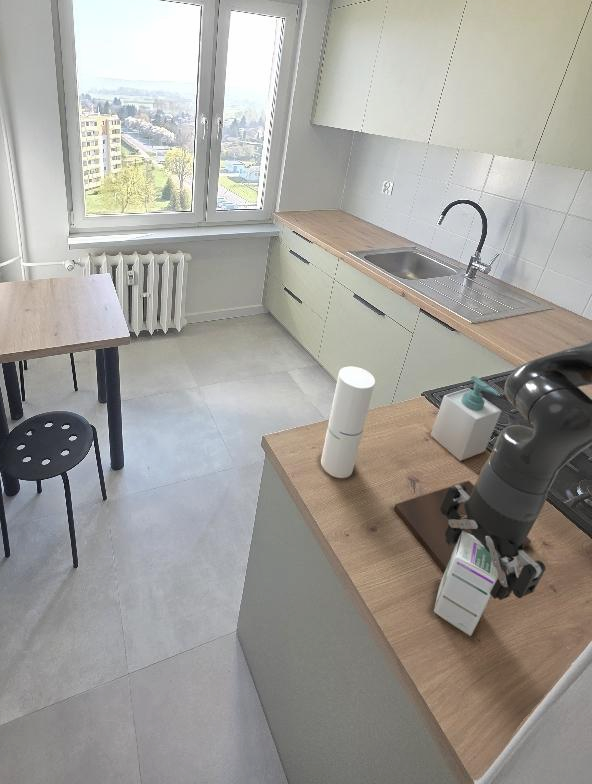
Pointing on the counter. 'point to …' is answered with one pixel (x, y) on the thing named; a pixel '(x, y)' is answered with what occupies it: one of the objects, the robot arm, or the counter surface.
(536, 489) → the robot arm
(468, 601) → the syrup box
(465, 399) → the soap bottle
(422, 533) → the board
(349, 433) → the cylindrical container
